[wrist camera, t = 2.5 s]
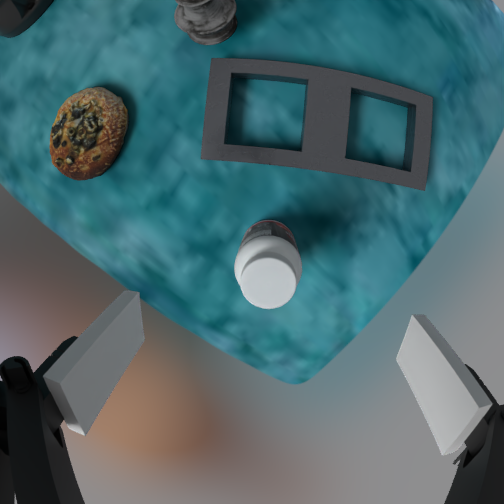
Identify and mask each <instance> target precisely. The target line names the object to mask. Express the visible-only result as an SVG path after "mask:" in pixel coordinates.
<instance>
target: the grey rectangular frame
mask: <svg viewBox="0 0 504 504" xmlns="http://www.w3.org/2000/svg"><path fill="white" fill-rule="evenodd" d="M234 78H242V79H258V80H270V81H280V82H289V83H297V84H304V85H306V91H305V103H304V114H303V125H302V135H301V145H300V152H299V151H291V150H283V149H274V148H264V147H253V146H241V145H227V140H228V129H229V119H230V109H231V100H232V90H233V81H234ZM351 93H354V94H359V95H363V96H367V97H371V98H375V99H379V100H383V101H387V102H390V103H394V104H397V105H401V106H404V107H407V108H408V115H407V131H406V143H405V153H404V162H403V170H399V169H395V168H390V167H386V166H381V165H376V164H371V163H366V162H361V161H356V160H351V159H345V154H346V145H347V134H348V123H349V111H350V96H351ZM432 109H433V97H431V96H428V95H425V94H422V93H420V92H417V91H414V90H411V89H408V88H405V87H402V86H398V85H395V84H392V83H388V82H385V81H381V80H377V79H374V78H370V77H366V76H362V75H358V74H353V73H349V72H344V71H339V70H334V69H329V68H323V67H317V66H311V65H304V64H297V63H289V62H279V61H269V60H255V59H234V58H212V59H211V66H210V74H209V82H208V90H207V99H206V108H205V118H204V128H203V139H202V150H201V159H206V160H222V161H236V162H248V163H259V164H269V165H278V166H286V167H295V168H303V169H310V170H317V171H324V172H331V173H337V174H343V175H349V176H355V177H361V178H366V179H371V180H377V181H382V182H387V183H392V184H396V185H401V186H406V187H410V188H415V189H419V190H423V191H425V187H426V180H427V173H428V164H429V155H430V144H431V131H432Z"/></svg>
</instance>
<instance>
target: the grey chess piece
mask: <svg viewBox="0 0 504 504" xmlns="http://www.w3.org/2000/svg"><path fill="white" fill-rule="evenodd" d="M175 1H176V2H177V3H178V6H177V8H176V10H175V16H174V18H175V22H176V24H177V26H178V27H179V28H180V29H181V30H183V31H184V32H187V33H188V35H189V37H190V38H191V39H192V40H193V41H194V42H196V43H199V44H203V45H214V44H217V43H221V42H223V41H225V40H226V39H228V38H229V37H230V36H231V35H232V34H233V33H234V32H235V29H236V27H237V19H236V16H235V13H236V3H235V0H175Z"/></svg>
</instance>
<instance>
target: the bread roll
mask: <svg viewBox="0 0 504 504" xmlns="http://www.w3.org/2000/svg"><path fill="white" fill-rule="evenodd" d="M127 111H128V110H127V109H126V107H125V106H124V104H123V101H122V98H121V97H119V96H118V97H117V96H116V95H114V94H113V93H112V92H110V91H108V90H106V89H105V88H102V87H94V88H86V89H85V90H81V91H80V92H78V93H75V94H73V95H72V96H71V97H69V98H68V99H67V100H66V101H65V103H64V104H63V105H62V106H61V107H60V109H59V110H58V114H57V117H56V119H55V122H54V124H53V126H52V129H51V135H50V154H51V158H52V163H53V165H54V166H55V167H57V169H58V170H59V171H60V172H61V173H62V174H64V175H65V176H67V177H69V178H72V179H75V180H87V179H92V178H94V177H97V176H101V175H102V174H103V173H104V172H105V171H106V170H108V169H109V168H110V165H111V164H112V163H113V162H114V161H115V159H116V158H117V156H118V154H119V152H120V150H121V147H122V145H123V143H124V140H123V138H124V135H125V133H126V131H127V128H128V122H129V121H128V120H129V118H128V117H129V116H128V112H127Z"/></svg>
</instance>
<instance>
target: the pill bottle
mask: <svg viewBox="0 0 504 504" xmlns="http://www.w3.org/2000/svg"><path fill="white" fill-rule="evenodd" d="M301 274H302V262H301V258H300V255H299V252H298V248H297V245H296V242H295V239H294V236H293V234H292V232H291V231H290V230H289V229H288V227H286V226H285V225H284V224H282V223H280V222H278V221H275V220H263V221H259V222H257V223H255V224H254V225H252V226H251V227H250V228H249V229H248V230H247V231H246V233H245V235H244V237H243V239H242V242H241V245H240V248H239V251H238V254H237V257H236V260H235V275H236V279H237V281H238V283H239V285H240V286H241V290H242V292H243V295H244V296H245V298H246V299H247V300H248V301H249V302H250V303H252V304H253V305H255V306H257V307H260V308H265V309H272V308H277V307H280V306H282V305H284V304H285V303H287V302H288V301H289V300H290V299H291V298H292V296H293V295H294V293H295V290H296V286H297V284H298V283H299V280H300V278H301Z"/></svg>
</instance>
